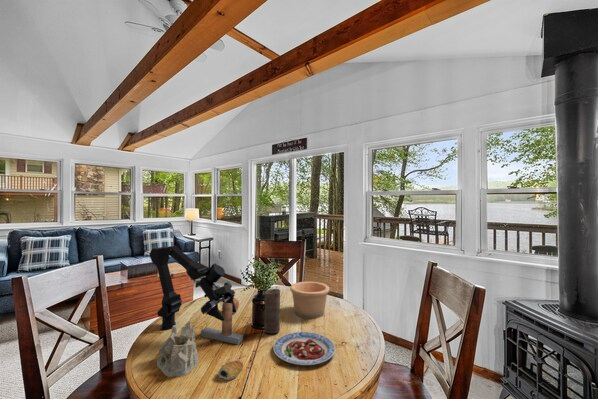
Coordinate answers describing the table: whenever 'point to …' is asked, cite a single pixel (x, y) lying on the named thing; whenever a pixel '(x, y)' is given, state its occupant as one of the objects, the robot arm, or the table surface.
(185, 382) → the table surface
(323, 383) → the table surface
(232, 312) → the apple
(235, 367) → the pastry
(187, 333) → the grey castle model
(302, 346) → the ceramic plate
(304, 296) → the pottery
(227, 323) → the rod
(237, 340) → the ridge
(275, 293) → the candle
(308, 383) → the table surface
